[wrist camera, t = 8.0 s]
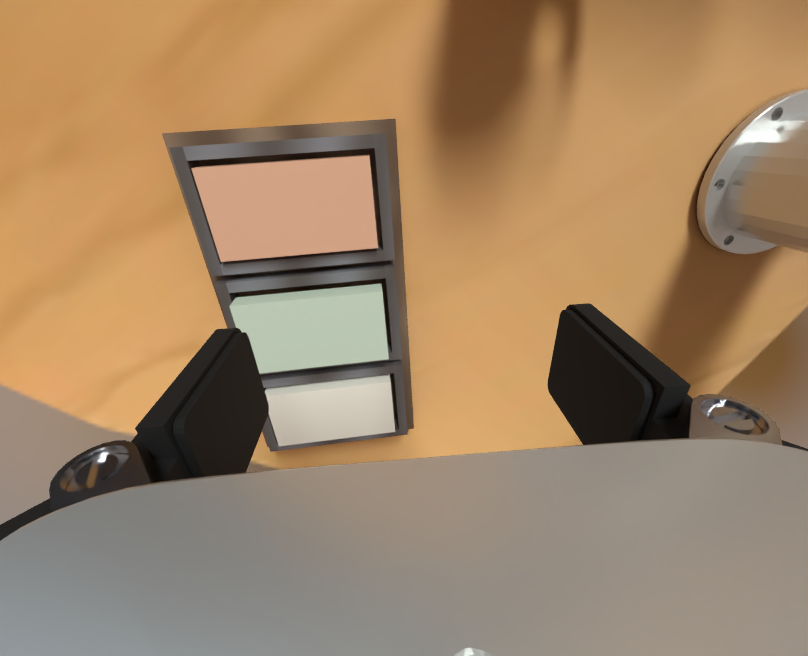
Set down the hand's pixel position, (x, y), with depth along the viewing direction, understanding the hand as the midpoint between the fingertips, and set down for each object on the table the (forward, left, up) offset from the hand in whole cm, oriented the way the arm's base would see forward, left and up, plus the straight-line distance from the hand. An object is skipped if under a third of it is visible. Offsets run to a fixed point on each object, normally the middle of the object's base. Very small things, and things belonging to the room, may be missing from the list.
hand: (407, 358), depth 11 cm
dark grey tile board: (+6, +7, -20) cm, 22 cm away
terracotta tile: (+6, -2, -18) cm, 19 cm away
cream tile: (+6, +16, -18) cm, 25 cm away
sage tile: (+6, +7, -17) cm, 19 cm away
